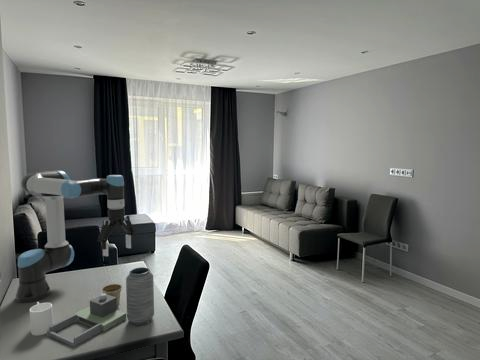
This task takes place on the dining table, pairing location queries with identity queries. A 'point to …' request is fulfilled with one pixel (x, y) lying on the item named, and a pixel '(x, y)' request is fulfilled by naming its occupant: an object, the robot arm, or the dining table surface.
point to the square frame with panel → (91, 319)
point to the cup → (41, 318)
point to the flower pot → (113, 291)
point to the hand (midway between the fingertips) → (117, 251)
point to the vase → (140, 296)
